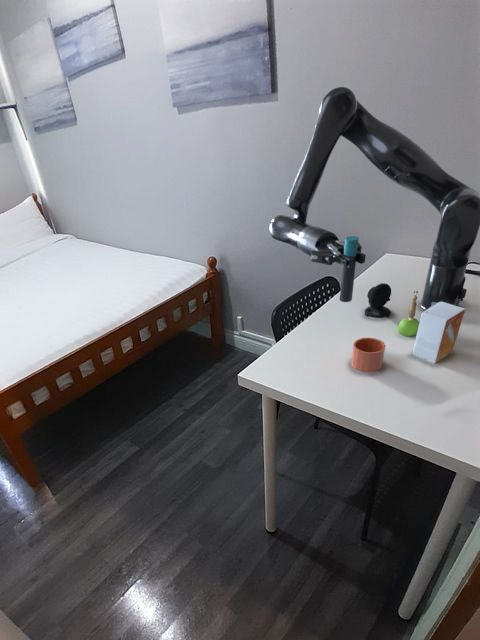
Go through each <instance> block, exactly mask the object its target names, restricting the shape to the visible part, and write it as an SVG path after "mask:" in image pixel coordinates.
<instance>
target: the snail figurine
mask: <svg viewBox="0 0 480 640" xmlns="http://www.w3.org/2000/svg"><path fill="white" fill-rule="evenodd" d="M412 293H413V295H412V296H411V302H410V304H409V307H408V317H405V318H403V319H402V320H401V321H400V322H399V324H398V326H397V329H398V332H399V334H401V335H402V336H403V337H407V338H410V337H415V336H417V332H418V327H419V323H420V320H418V319H417V318H415V316H416V311H417V300H418V293H419V291H418V290H413V291H412Z"/></svg>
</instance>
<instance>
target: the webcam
mask: <svg viewBox="0 0 480 640" xmlns="http://www.w3.org/2000/svg"><path fill="white" fill-rule="evenodd" d="M391 295H392V287H391V286H390V285H389V284H388V283H385V282H384V283H383V282H382V283H379V284H377V285H375V286H372V287H370V289H369V290H368V292H367V299H368V305H369V306H368V307H366V308H365V309H364V316H366V317H367V318H374V319H383V318H389V317H390V316H391V314H392V311H391V310H390V308H388V307H386V306H385V305H386V304H387V303H388V302H390V301H391ZM372 311H373V312H375V313H377V314H374V313H372Z"/></svg>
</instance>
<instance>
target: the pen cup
mask: <svg viewBox="0 0 480 640" xmlns="http://www.w3.org/2000/svg"><path fill="white" fill-rule="evenodd" d="M385 351H386V343H385V342H384V341H382V340H380V339H378V338H375V337H361V338H358V339H356V340H355V341H354V342H353V345H352V352H351V362H350V364H351V366H352V368H354V369H355V370H357V371H360V372H362V373H374V372H377V371H379V370H381V369H382V368H383V362H384V358H385Z"/></svg>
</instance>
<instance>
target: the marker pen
mask: <svg viewBox="0 0 480 640" xmlns="http://www.w3.org/2000/svg"><path fill="white" fill-rule="evenodd" d="M344 242H345V244H344V255H346V256H348V257H351V258H352V266H351V267H349V268H348V267H346V266H343V265H342V267H341V279H340V289H339V290H340V291H339V302H342V303H349V302H352V300H353V293H354V283H355V274H356V264H357V262H356V256H357V247H358V242H359V237H358V236H356V235H350V236H349V235H348V236H346V237H345V238H344Z"/></svg>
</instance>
